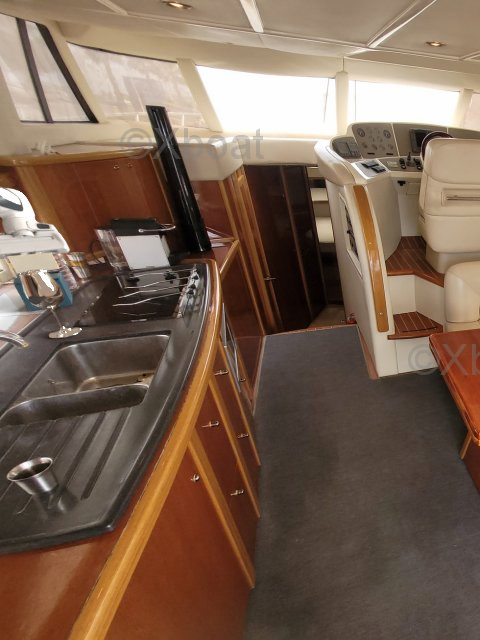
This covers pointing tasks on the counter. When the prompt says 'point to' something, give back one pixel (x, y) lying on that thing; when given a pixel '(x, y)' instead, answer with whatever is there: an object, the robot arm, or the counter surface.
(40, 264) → the flap
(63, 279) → the tote
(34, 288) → the wineglass
